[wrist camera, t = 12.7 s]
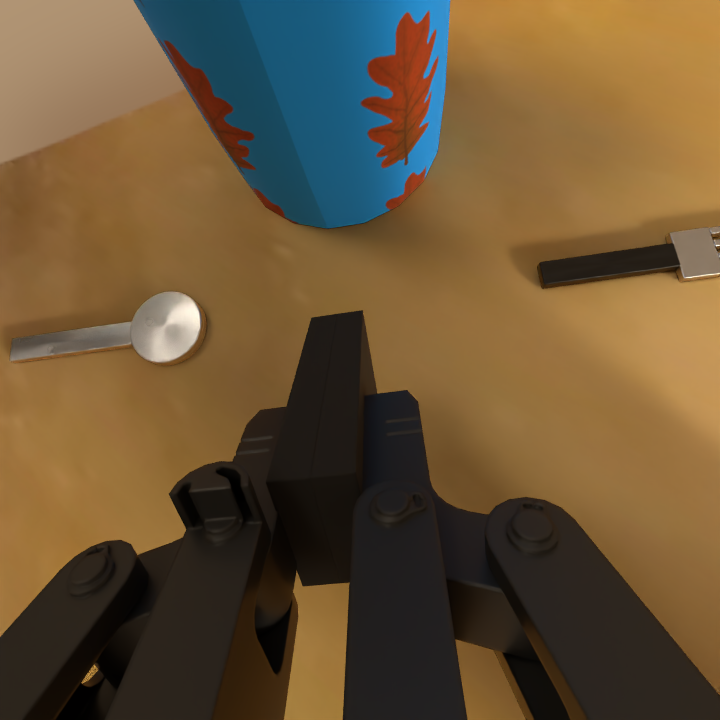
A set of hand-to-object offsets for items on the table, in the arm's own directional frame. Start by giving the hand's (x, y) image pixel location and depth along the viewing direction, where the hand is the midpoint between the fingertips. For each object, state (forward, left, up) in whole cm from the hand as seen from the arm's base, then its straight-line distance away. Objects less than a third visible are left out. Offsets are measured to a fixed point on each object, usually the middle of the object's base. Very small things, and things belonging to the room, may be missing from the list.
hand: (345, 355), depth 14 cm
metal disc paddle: (-12, +4, -7) cm, 15 cm away
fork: (+13, +4, -7) cm, 15 cm away
